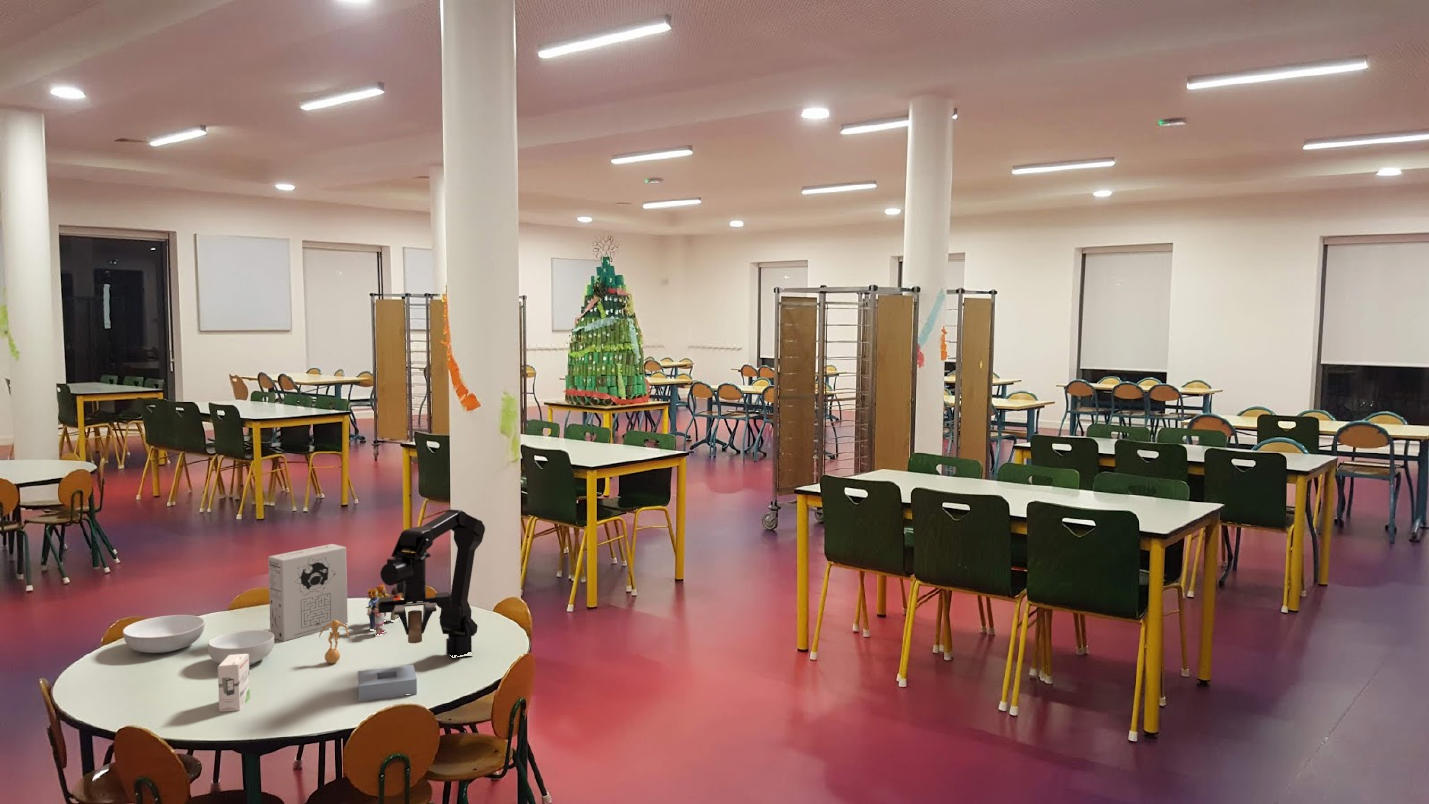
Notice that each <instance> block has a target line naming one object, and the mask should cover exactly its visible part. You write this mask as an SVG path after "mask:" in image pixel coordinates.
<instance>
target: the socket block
mask: <svg viewBox="0 0 1429 804" xmlns="http://www.w3.org/2000/svg"><path fill="white" fill-rule="evenodd" d="M414 665H415V664H411V665H410V664H409V665H401V666H392V667H383V668H375V669H366V670H359V671H357V686H358V687H357V689H358V699H359V700H358V701H359V702H365V701H366V702H367V701H373V700H382V699H389V698H390V699H391V698H396V696H398V697H402V696H401V695H406V694H414V695H417V694H416V693H418V687H417V686H418V685H417V684H418V683H417V682H418V681H417V675H416V670H415V666H414ZM406 696H407V695H406Z"/></svg>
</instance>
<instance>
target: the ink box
mask: <svg viewBox="0 0 1429 804" xmlns="http://www.w3.org/2000/svg"><path fill="white" fill-rule="evenodd" d="M217 679H218V681H217V683H218V709H219V712H237V711H238V712H239V711H241V709H242V708H243V707H244V706H245V705H246V703H248V700H249V699H250V697H251V695H250V692H251V691H250V666H249V654H235V655H229V656H228V657H227V658H226V659H225V660H224V661H223V662H222V663H221V664H220V663H219V665H218V666H217Z"/></svg>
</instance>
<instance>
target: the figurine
mask: <svg viewBox="0 0 1429 804" xmlns="http://www.w3.org/2000/svg"><path fill="white" fill-rule="evenodd" d="M328 626H331V630H332V631H330V632H329V636H328V643H329V644H330V646H329V648H328V650H327V651H326V652H325V653H324V660H325V662H326V663H328V664H335V663H337V662H338V661H339V660H340V657H341V653H340V651H339V650H337V647H338V643H339V642H338V640H339V638H340V637H339V636H340V632H339V627H343V628H344V629H345V633H346V637H347V638H349V637H350V636H349V635H350V634H349V631H348V626H347V624H346V625H344V624H342V623H340V622H339V621H338V620H335V619H334V620H333V621H332V622H331V623H329V624H327V625H325V626H324V628H323V629H322V631H320V632H319V634H318V635H319V638H320V637H321V635H322V633H324V631H325V630H324V629H325V627H328ZM333 638H334V643H335V646H334V648H332V647H333V641H332V640H333Z"/></svg>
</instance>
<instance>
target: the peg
mask: <svg viewBox="0 0 1429 804" xmlns="http://www.w3.org/2000/svg"><path fill="white" fill-rule="evenodd" d="M422 619H423V610H419V609H415V610H409V611H408V612H407V624H408V635H407V642H408V643H409V644H419V643H421V642H423V633H422Z"/></svg>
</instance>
